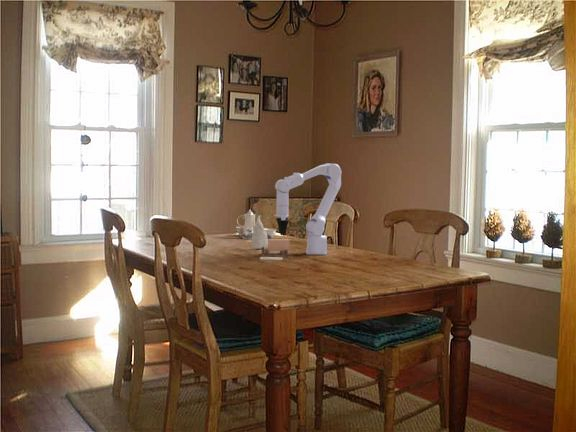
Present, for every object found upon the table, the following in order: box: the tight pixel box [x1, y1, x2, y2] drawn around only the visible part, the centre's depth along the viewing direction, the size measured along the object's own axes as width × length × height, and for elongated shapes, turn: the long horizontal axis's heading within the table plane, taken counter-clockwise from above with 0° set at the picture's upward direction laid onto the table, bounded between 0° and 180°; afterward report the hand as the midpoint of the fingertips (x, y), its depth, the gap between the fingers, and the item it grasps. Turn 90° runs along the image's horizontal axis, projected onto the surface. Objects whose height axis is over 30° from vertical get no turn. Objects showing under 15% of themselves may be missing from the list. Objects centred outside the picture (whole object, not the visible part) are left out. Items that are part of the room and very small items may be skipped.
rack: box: [261, 247, 289, 258], centre depth 322 cm, size 12×9×3 cm
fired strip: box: [259, 256, 284, 261], centre depth 312 cm, size 10×4×1 cm, turn 85°
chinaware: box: [233, 209, 278, 240], centre depth 387 cm, size 28×17×17 cm, turn 65°
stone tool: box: [250, 219, 268, 250], centre depth 342 cm, size 9×3×15 cm, turn 111°
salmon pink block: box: [267, 238, 291, 252], centre depth 322 cm, size 10×4×5 cm, turn 93°
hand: (282, 234), depth 325 cm, fingers open, 7 cm apart
